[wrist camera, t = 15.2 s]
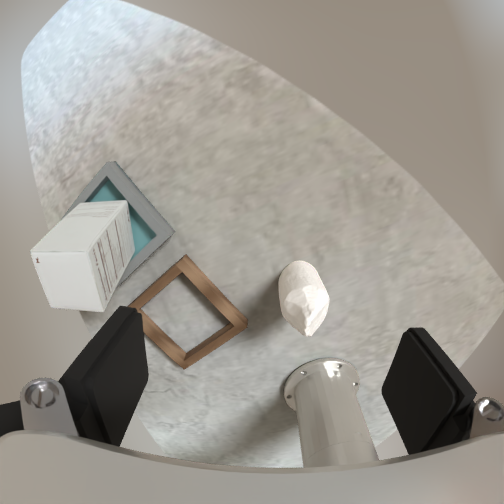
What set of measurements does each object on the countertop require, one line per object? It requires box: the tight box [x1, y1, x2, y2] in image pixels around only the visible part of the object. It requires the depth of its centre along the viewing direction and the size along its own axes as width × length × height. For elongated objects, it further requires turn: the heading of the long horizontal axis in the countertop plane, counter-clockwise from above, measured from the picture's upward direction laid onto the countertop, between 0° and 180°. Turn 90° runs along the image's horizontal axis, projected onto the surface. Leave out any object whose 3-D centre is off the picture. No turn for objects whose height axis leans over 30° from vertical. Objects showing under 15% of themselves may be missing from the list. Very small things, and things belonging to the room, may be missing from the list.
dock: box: [60, 162, 175, 288], centre depth 36 cm, size 12×12×2 cm
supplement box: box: [30, 200, 135, 312], centre depth 30 cm, size 7×7×13 cm
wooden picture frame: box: [128, 255, 248, 369], centre depth 40 cm, size 12×12×2 cm
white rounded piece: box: [278, 261, 329, 337], centre depth 34 cm, size 6×12×6 cm
